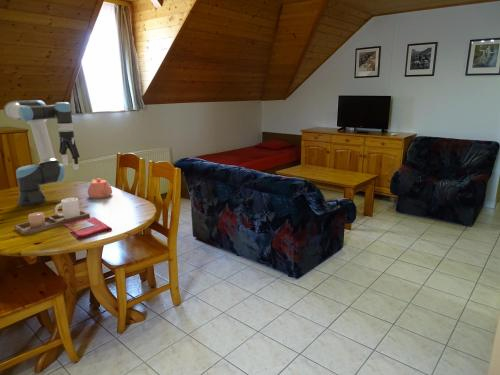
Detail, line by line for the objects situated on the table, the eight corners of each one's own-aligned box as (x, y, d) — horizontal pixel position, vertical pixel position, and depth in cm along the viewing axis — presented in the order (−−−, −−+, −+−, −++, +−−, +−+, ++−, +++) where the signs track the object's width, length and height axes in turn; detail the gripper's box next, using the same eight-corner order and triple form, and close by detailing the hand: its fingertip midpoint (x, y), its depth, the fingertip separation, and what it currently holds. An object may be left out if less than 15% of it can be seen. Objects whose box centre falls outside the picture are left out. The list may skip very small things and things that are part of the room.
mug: (56, 222, 194) (53, 204, 191) (55, 217, 201) (53, 200, 198) (81, 218, 200) (78, 200, 197) (79, 213, 206) (77, 196, 204)
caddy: (15, 230, 185) (14, 225, 185) (78, 213, 210) (77, 208, 209) (25, 237, 178) (24, 231, 177) (90, 218, 202) (89, 213, 201)
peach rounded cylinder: (28, 227, 187) (25, 214, 185) (42, 223, 192) (40, 211, 190) (33, 230, 183) (31, 217, 181) (48, 226, 188) (46, 214, 186)
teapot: (119, 197, 239) (117, 179, 236) (97, 202, 229) (94, 184, 226) (104, 191, 254) (102, 174, 251) (82, 195, 244) (80, 178, 240)
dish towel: (78, 241, 175) (78, 236, 174) (62, 227, 191) (61, 222, 190) (113, 231, 186) (112, 226, 185) (95, 219, 202) (94, 214, 202)
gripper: (49, 129, 208) (55, 164, 214) (69, 133, 192) (74, 172, 199) (63, 127, 213) (67, 162, 220) (83, 132, 198) (87, 169, 204)
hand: (70, 167), depth 209 cm, fingers open, 13 cm apart
